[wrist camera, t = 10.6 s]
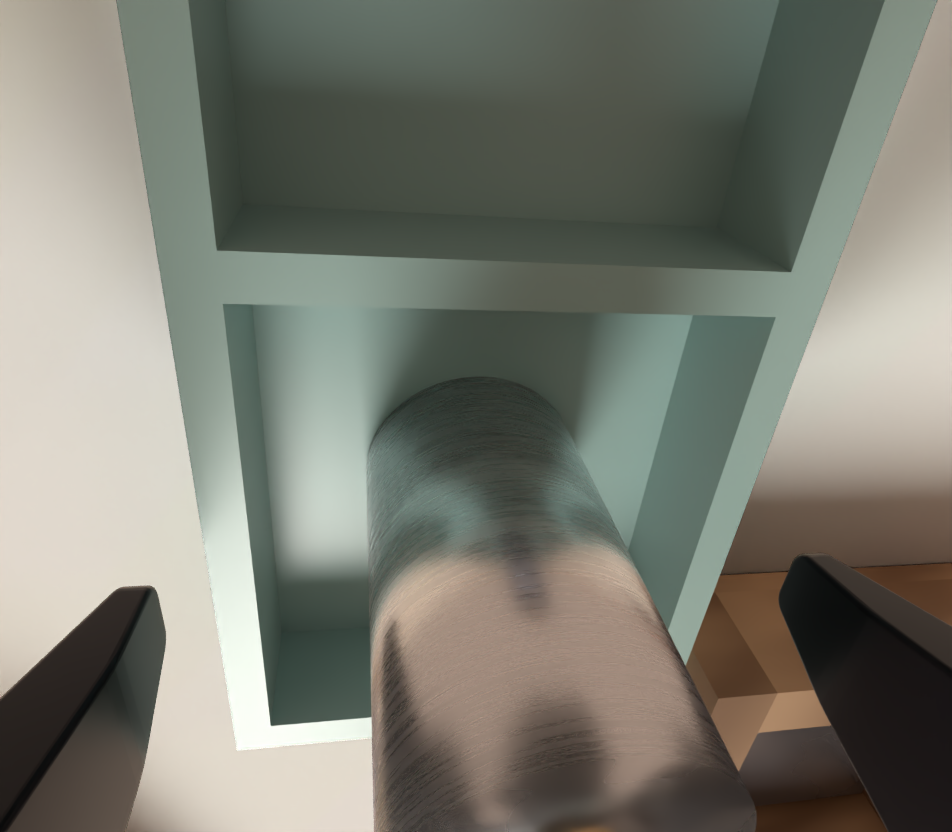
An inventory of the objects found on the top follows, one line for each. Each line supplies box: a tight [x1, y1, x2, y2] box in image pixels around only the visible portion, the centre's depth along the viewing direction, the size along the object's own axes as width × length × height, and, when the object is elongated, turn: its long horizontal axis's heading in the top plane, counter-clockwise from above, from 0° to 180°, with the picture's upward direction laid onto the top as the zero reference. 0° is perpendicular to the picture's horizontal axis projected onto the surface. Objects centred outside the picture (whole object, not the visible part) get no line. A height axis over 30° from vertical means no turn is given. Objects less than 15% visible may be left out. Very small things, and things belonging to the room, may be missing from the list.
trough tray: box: [116, 0, 937, 751], centre depth 9 cm, size 8×17×2 cm, turn 175°
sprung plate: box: [739, 726, 864, 806], centre depth 17 cm, size 6×6×1 cm
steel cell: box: [366, 377, 757, 832], centre depth 9 cm, size 4×4×7 cm
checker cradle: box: [686, 563, 952, 832], centre depth 16 cm, size 9×9×3 cm
